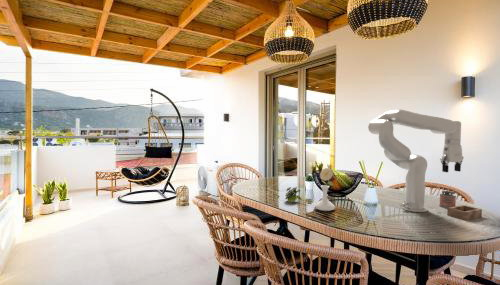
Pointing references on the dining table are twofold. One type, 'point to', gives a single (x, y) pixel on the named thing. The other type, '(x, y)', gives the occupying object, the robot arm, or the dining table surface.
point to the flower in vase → (325, 191)
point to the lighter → (447, 199)
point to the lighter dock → (464, 212)
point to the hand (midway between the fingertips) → (451, 171)
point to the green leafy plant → (292, 194)
